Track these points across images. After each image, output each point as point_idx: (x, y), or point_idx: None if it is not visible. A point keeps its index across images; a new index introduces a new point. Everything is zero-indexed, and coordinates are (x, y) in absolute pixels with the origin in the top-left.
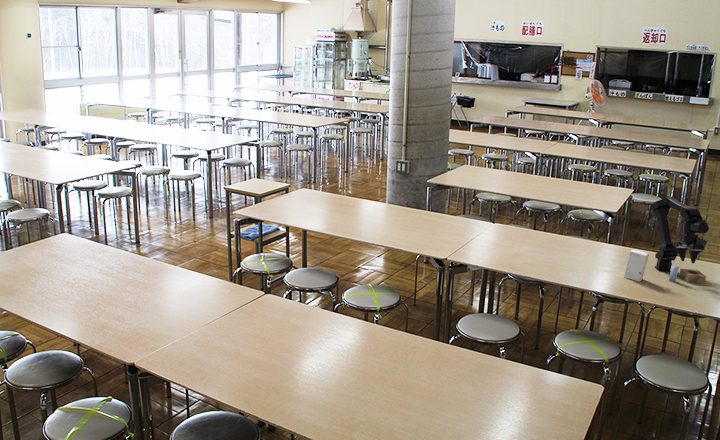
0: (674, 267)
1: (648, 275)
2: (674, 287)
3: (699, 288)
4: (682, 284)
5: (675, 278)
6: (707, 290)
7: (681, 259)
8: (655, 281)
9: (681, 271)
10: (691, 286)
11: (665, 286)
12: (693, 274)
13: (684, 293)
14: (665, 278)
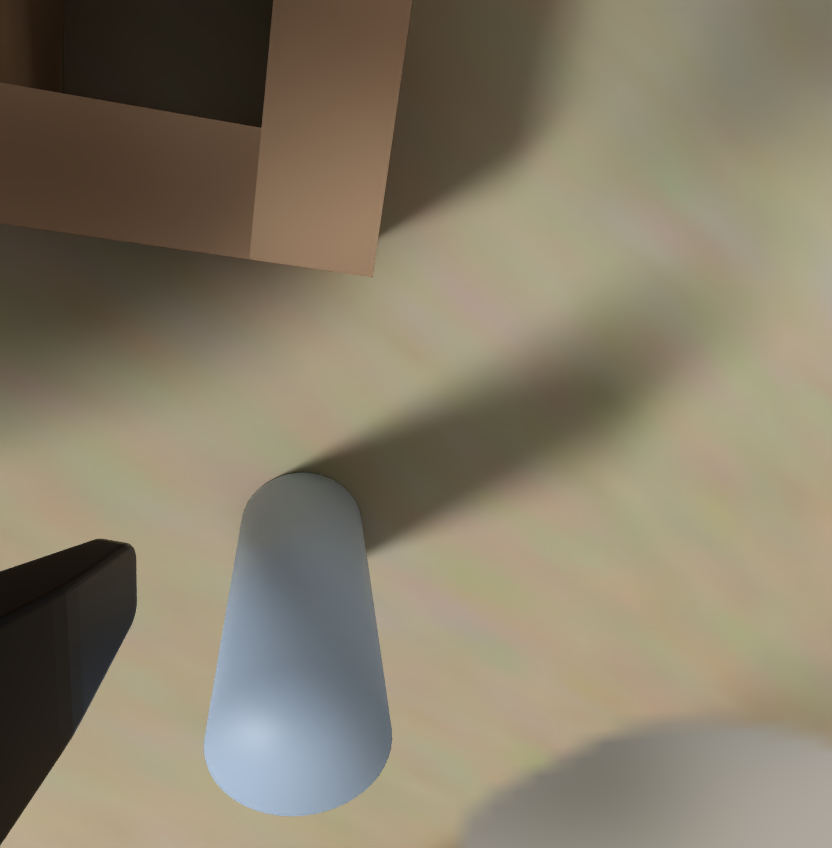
0: (359, 792)
1: (70, 808)
2: (590, 637)
3: (679, 182)
4: (471, 422)
5: (363, 547)
6: (792, 64)
7: (81, 679)
8: (342, 807)
9: None
10: (573, 295)
11: (542, 751)
12: (316, 84)
13: (818, 605)
14: (183, 588)
